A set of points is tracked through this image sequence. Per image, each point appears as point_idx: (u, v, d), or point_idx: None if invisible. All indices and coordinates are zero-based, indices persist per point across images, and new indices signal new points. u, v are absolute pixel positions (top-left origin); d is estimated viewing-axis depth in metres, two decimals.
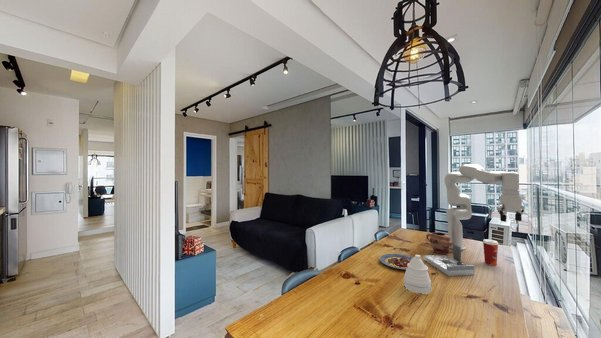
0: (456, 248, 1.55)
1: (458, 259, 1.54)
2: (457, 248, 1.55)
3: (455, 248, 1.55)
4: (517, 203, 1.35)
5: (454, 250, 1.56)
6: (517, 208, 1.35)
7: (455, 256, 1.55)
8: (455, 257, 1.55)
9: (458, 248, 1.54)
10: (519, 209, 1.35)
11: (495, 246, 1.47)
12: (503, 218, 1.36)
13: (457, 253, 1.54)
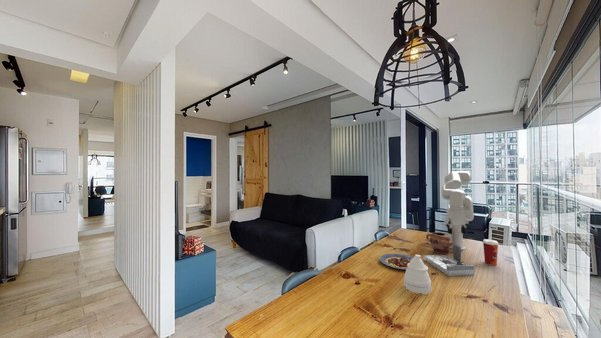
0: (456, 248, 1.55)
1: (458, 259, 1.54)
2: (457, 248, 1.55)
3: (455, 248, 1.55)
4: (461, 218, 1.54)
5: (454, 250, 1.56)
6: (461, 222, 1.54)
7: (455, 256, 1.55)
8: (455, 257, 1.55)
9: (458, 248, 1.54)
10: (463, 223, 1.54)
11: (495, 246, 1.47)
12: (449, 231, 1.55)
13: (457, 253, 1.54)
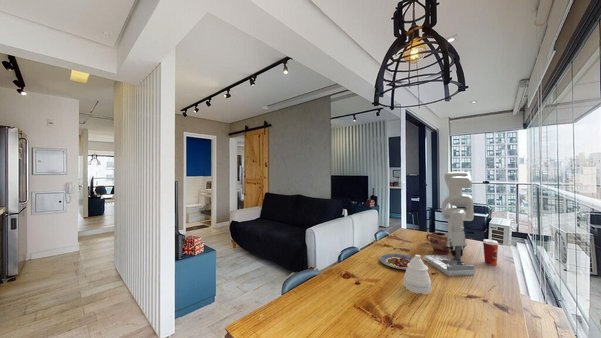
0: (456, 248, 1.55)
1: (458, 259, 1.54)
2: (457, 248, 1.55)
3: (455, 248, 1.55)
4: (461, 239, 1.54)
5: None
6: (461, 243, 1.54)
7: (455, 256, 1.55)
8: (455, 257, 1.55)
9: (458, 248, 1.54)
10: (463, 244, 1.55)
11: (495, 246, 1.47)
12: (453, 253, 1.55)
13: (457, 253, 1.54)
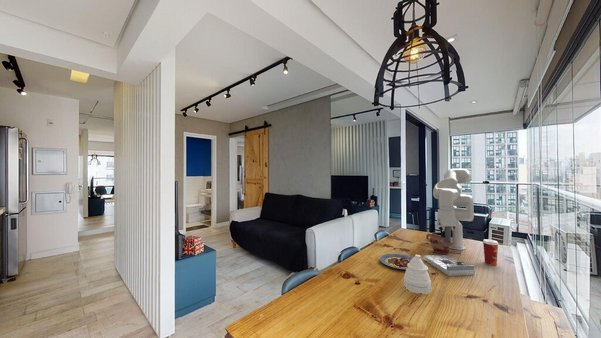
0: (446, 229, 1.45)
1: (448, 240, 1.44)
2: (447, 228, 1.45)
3: (445, 229, 1.45)
4: (451, 219, 1.44)
5: None
6: (451, 223, 1.44)
7: (445, 237, 1.45)
8: (445, 238, 1.45)
9: (448, 228, 1.44)
10: (453, 224, 1.45)
11: (495, 246, 1.47)
12: (442, 234, 1.46)
13: (447, 234, 1.44)
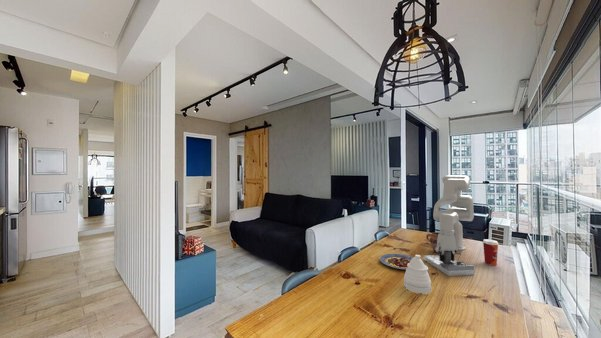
0: (446, 254, 1.45)
1: None
2: (447, 254, 1.45)
3: (445, 254, 1.45)
4: (452, 243, 1.44)
5: (444, 256, 1.46)
6: (452, 247, 1.44)
7: (445, 262, 1.45)
8: (445, 263, 1.45)
9: (448, 254, 1.44)
10: (454, 248, 1.45)
11: (495, 246, 1.47)
12: (441, 258, 1.45)
13: (447, 259, 1.44)
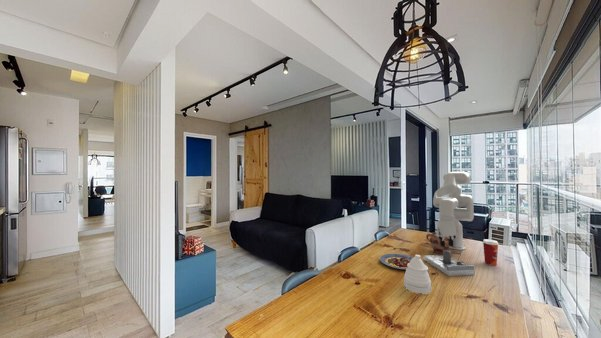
0: (446, 254, 1.45)
1: None
2: (447, 254, 1.45)
3: (445, 254, 1.45)
4: (451, 228, 1.44)
5: (444, 256, 1.46)
6: (451, 233, 1.44)
7: (445, 262, 1.45)
8: (445, 263, 1.45)
9: (448, 254, 1.44)
10: (453, 234, 1.45)
11: (495, 246, 1.47)
12: (442, 243, 1.45)
13: (447, 259, 1.44)
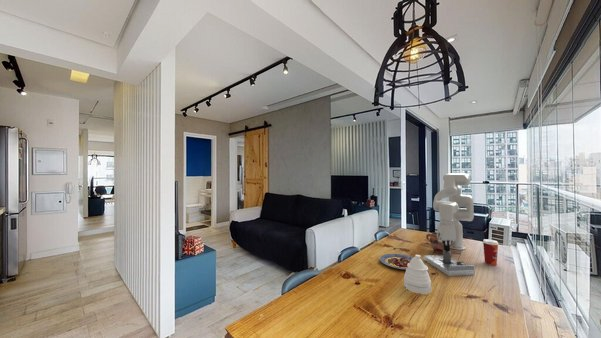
0: (446, 254, 1.45)
1: None
2: (447, 254, 1.45)
3: (445, 254, 1.45)
4: (451, 232, 1.44)
5: (444, 256, 1.46)
6: (452, 237, 1.45)
7: (445, 262, 1.45)
8: (445, 263, 1.45)
9: (448, 254, 1.44)
10: (454, 238, 1.45)
11: (495, 246, 1.47)
12: (445, 248, 1.46)
13: (447, 259, 1.44)
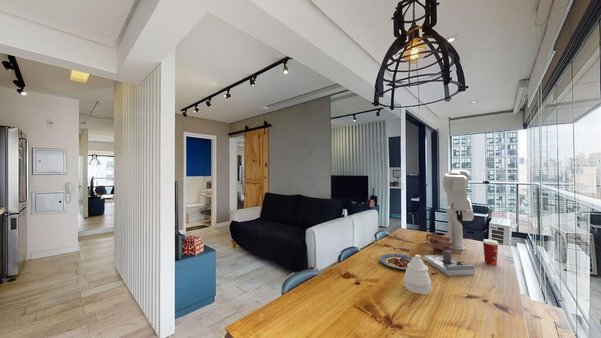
0: (446, 254, 1.45)
1: None
2: (447, 254, 1.45)
3: (445, 254, 1.45)
4: (464, 203, 1.57)
5: (444, 256, 1.46)
6: (464, 207, 1.57)
7: (445, 262, 1.45)
8: (445, 263, 1.45)
9: (448, 254, 1.44)
10: (466, 208, 1.57)
11: (495, 246, 1.47)
12: (458, 217, 1.58)
13: (447, 259, 1.44)
